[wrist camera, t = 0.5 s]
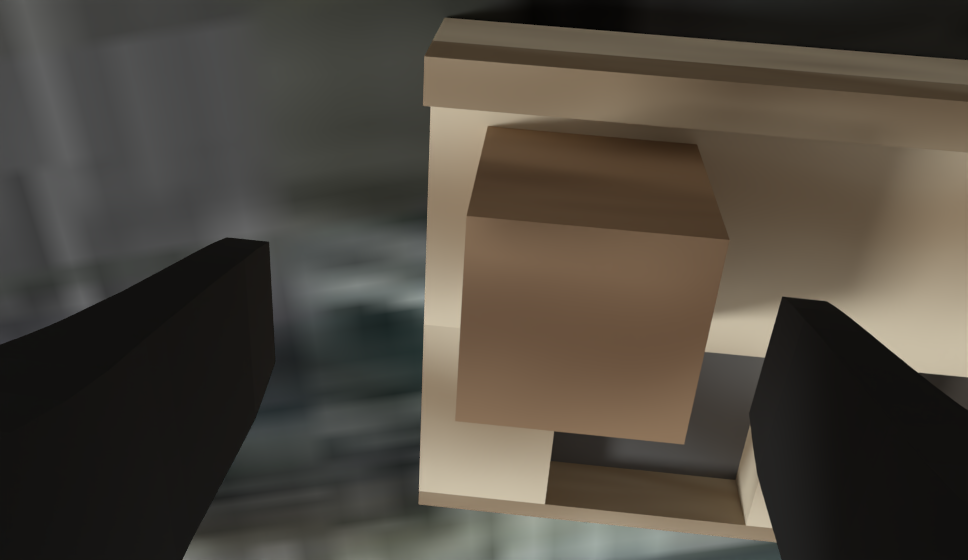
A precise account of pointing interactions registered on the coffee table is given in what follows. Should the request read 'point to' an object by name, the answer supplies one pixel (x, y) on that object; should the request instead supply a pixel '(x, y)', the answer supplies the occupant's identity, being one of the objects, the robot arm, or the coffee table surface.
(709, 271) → the walnut block
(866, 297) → the trap deck
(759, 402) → the robot arm
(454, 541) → the coffee table surface
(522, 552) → the coffee table surface
